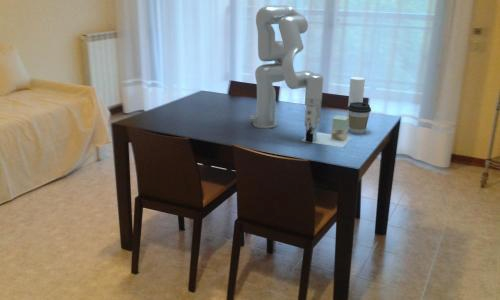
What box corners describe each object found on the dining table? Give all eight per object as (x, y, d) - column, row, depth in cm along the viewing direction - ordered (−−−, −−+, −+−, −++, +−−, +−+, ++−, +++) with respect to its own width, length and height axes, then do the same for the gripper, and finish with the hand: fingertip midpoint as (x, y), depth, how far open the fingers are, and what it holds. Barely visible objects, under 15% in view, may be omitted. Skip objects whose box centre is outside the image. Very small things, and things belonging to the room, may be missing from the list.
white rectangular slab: (300, 143, 225) (300, 140, 224) (311, 134, 238) (311, 131, 238) (342, 150, 217) (343, 147, 216) (351, 140, 230) (351, 137, 230)
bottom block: (331, 139, 227) (332, 128, 225) (334, 135, 232) (335, 125, 230) (343, 140, 225) (344, 130, 223) (347, 137, 230) (348, 127, 228)
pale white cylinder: (304, 140, 224) (304, 128, 222) (307, 137, 228) (308, 125, 226) (314, 142, 222) (315, 130, 220) (317, 139, 226) (318, 127, 224)
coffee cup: (369, 138, 234) (372, 108, 228) (345, 136, 235) (348, 106, 230) (368, 131, 244) (371, 102, 239) (345, 129, 246) (347, 101, 241)
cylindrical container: (351, 122, 258) (355, 76, 249) (363, 125, 253) (367, 78, 244) (343, 125, 253) (347, 78, 244) (355, 128, 248) (359, 80, 239)
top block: (332, 128, 225) (332, 118, 224) (335, 125, 230) (336, 115, 229) (344, 130, 223) (345, 120, 221) (348, 127, 228) (348, 117, 226)
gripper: (315, 107, 210) (312, 146, 216) (326, 98, 225) (324, 135, 231) (299, 104, 213) (297, 143, 219) (311, 96, 228) (309, 133, 234)
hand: (311, 139), depth 225 cm, fingers closed on pale white cylinder, 4 cm apart
